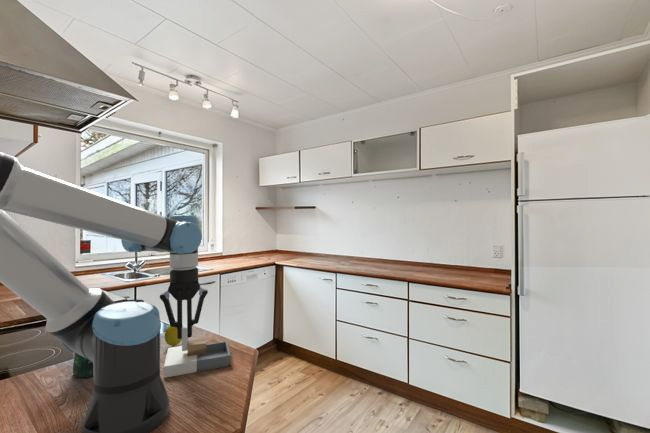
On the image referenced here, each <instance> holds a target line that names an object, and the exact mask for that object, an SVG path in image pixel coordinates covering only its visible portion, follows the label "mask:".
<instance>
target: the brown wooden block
mask: <svg viewBox="0 0 650 433" xmlns="http://www.w3.org/2000/svg"><path fill="white" fill-rule="evenodd" d="M206 344H208V342H207V337H197V338H196V337H195V338H188V352H187V356H193V355H200V354H206Z"/></svg>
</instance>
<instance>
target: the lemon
mask: <svg viewBox="0 0 650 433" xmlns="http://www.w3.org/2000/svg"><path fill="white" fill-rule="evenodd" d="M164 340H165V343H166V345H168V346H171V347H177V345H178V344H180V343H182V339H178V338H177V328H176V327H171V326H170V324H169V325H168V326H167V327H166V328H165V331H164Z"/></svg>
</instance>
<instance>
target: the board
mask: <svg viewBox="0 0 650 433" xmlns="http://www.w3.org/2000/svg"><path fill="white" fill-rule="evenodd" d="M187 352H188V350H187V351H182V345H179V346H177V345H176V346H175V347H173V346H171V347H168V348H167V352H166V355H165V356H166V357H165V360H164V364H163V378H164V379H165V378H172V377H177V376H181V375H186V374H187V375H188V374H192V373H198V372H197V355H193V356H187Z"/></svg>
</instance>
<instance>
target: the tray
mask: <svg viewBox="0 0 650 433" xmlns="http://www.w3.org/2000/svg"><path fill="white" fill-rule="evenodd" d="M230 366H231V352H230V348H229V343H228V341H227V340H225V341H221V342H219V341H218V342H214V343H213V342H212V343H207V344H206V354H200V355H197V372H196V373H198V372H204V371H208V370H215V369H220V368H224V367H230Z"/></svg>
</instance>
